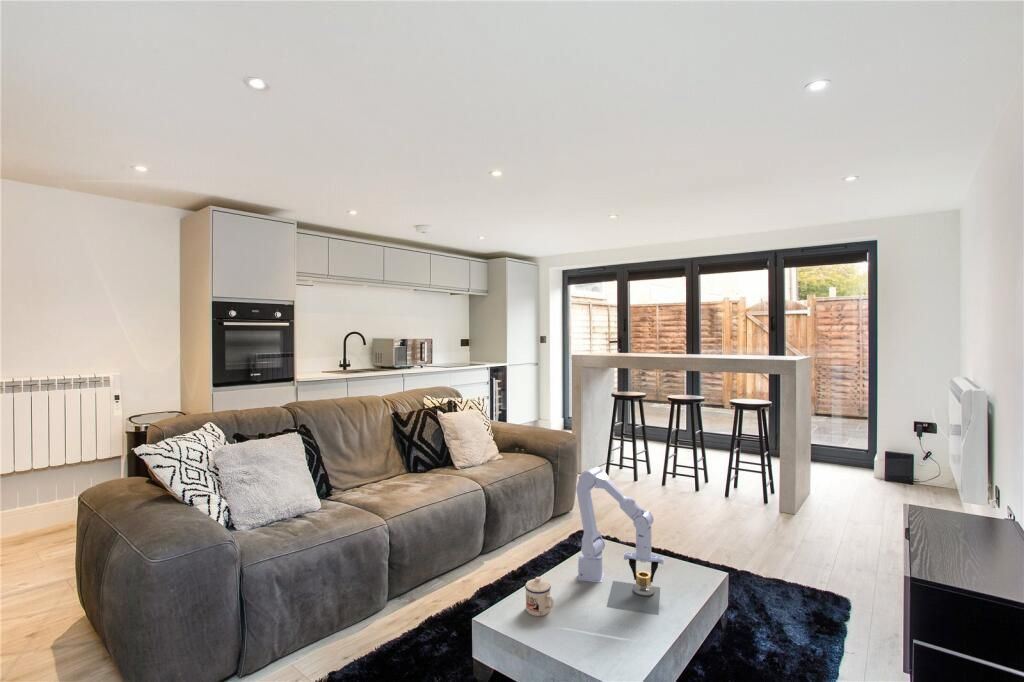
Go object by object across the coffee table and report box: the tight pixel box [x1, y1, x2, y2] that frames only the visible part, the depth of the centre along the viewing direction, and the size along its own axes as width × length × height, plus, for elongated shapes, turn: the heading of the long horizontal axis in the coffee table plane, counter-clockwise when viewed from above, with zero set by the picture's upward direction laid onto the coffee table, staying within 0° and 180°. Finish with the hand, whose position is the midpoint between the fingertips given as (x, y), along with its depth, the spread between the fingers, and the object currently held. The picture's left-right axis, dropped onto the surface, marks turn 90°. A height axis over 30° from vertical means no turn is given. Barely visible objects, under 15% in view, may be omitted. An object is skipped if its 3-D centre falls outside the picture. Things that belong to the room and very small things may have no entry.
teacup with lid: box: [524, 576, 555, 617], centre depth 186 cm, size 12×9×12 cm
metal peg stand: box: [633, 583, 655, 597], centre depth 199 cm, size 8×8×4 cm
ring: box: [635, 570, 652, 587], centre depth 199 cm, size 5×5×3 cm
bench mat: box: [606, 580, 661, 616], centre depth 195 cm, size 18×20×1 cm
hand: (643, 579), depth 199 cm, fingers closed on ring, 5 cm apart
